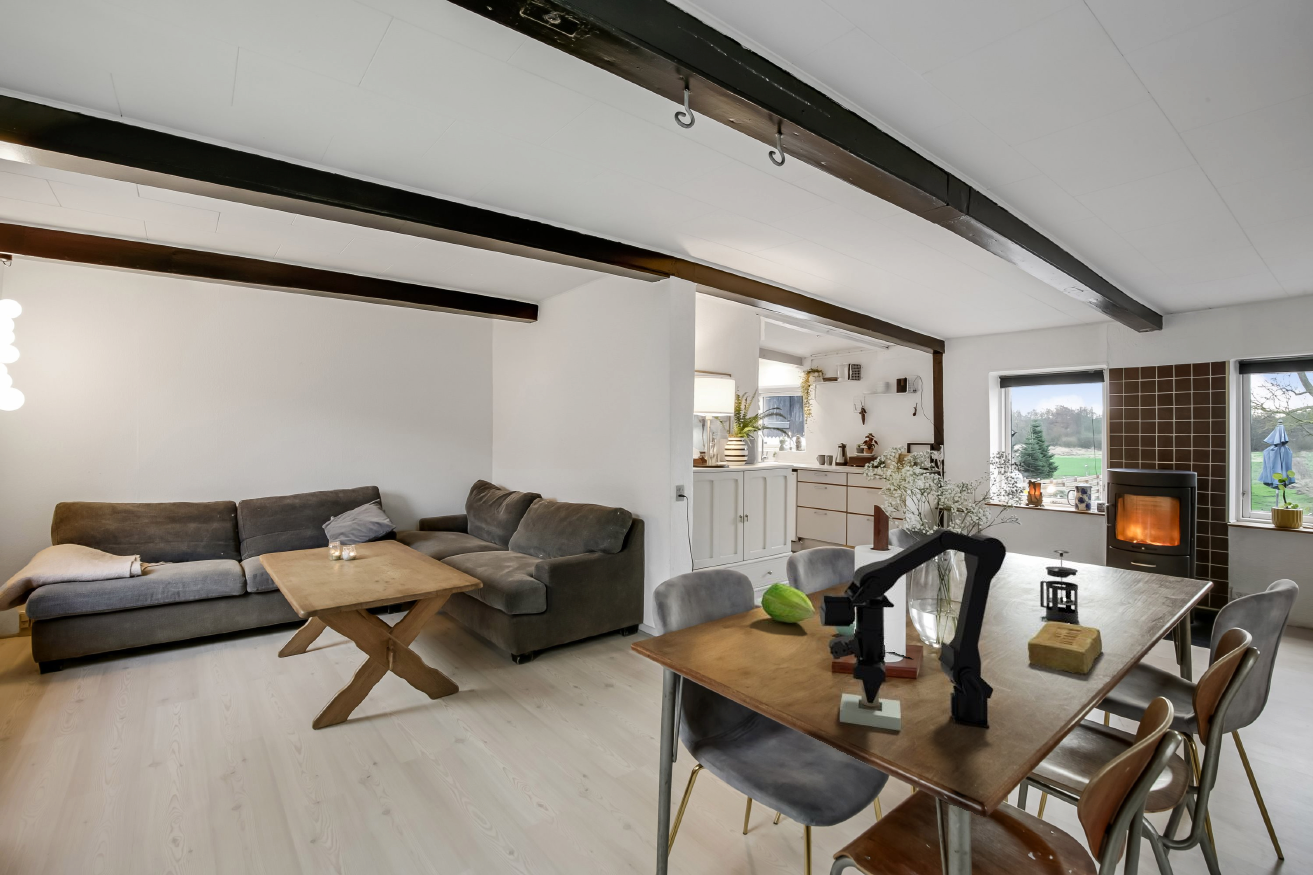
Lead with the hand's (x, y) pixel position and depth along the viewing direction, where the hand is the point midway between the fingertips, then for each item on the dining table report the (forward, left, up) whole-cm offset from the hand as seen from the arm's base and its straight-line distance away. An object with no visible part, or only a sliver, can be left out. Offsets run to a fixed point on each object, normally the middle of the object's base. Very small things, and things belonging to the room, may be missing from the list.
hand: (870, 699), depth 132 cm
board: (0, 0, -4) cm, 4 cm away
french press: (-58, -99, -4) cm, 115 cm away
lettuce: (+26, -63, -4) cm, 68 cm away
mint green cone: (0, -50, -4) cm, 51 cm away
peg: (0, 0, -3) cm, 3 cm away
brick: (-50, -58, -4) cm, 76 cm away
